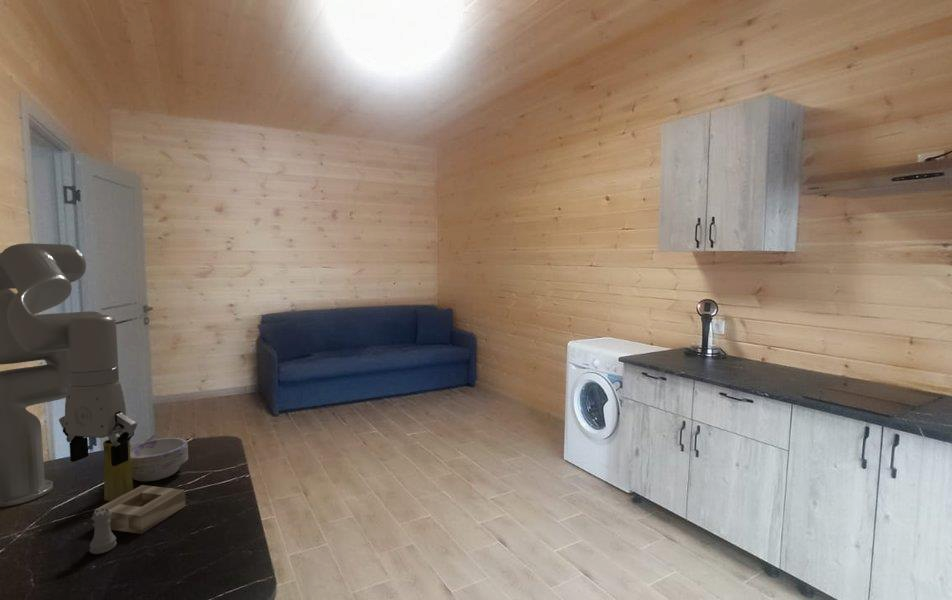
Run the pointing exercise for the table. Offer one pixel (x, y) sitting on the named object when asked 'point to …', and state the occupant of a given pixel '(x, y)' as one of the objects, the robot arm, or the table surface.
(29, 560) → the table surface
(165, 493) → the socket block
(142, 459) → the paper bowls
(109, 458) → the vase
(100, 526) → the rook chess piece
